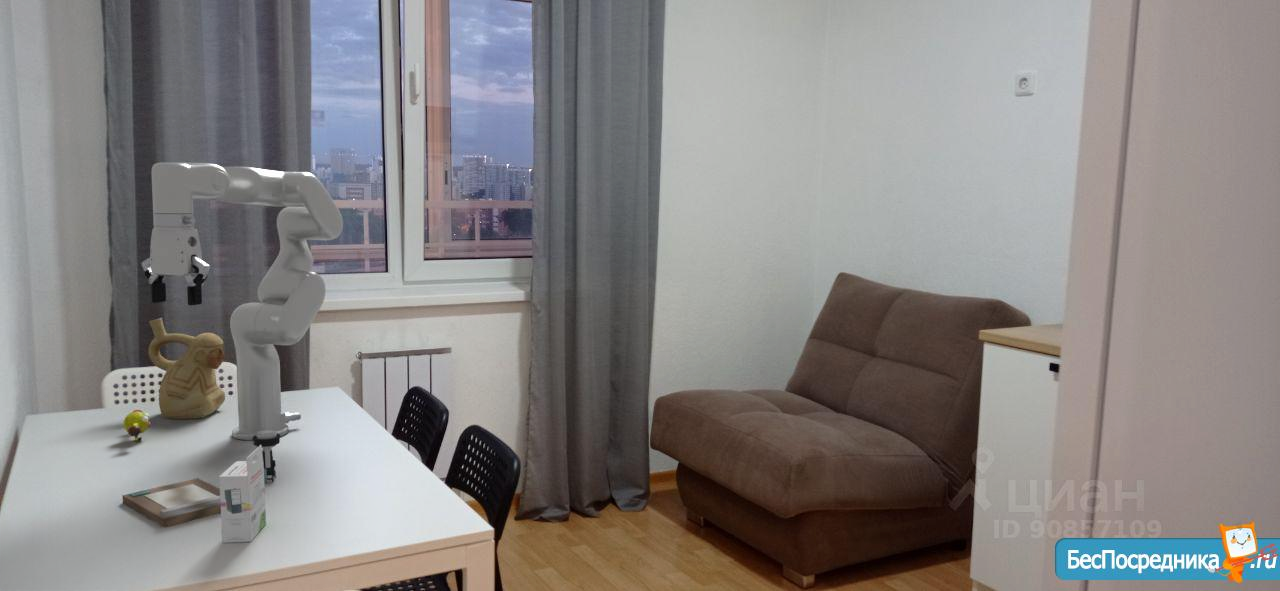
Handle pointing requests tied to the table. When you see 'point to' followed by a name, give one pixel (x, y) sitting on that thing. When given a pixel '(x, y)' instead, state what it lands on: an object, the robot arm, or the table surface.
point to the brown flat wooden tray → (176, 502)
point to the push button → (267, 451)
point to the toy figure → (136, 423)
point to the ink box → (243, 499)
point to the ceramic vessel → (188, 374)
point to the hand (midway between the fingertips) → (176, 303)
